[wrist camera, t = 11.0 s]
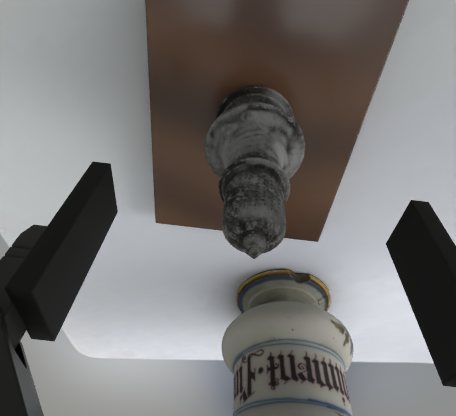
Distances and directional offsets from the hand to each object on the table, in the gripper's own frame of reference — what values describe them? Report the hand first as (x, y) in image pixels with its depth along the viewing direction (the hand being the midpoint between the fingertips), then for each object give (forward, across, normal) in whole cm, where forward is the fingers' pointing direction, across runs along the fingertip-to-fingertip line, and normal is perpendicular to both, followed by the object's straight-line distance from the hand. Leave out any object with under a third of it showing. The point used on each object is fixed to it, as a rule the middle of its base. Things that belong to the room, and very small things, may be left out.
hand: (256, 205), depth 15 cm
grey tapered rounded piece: (+9, 0, -1) cm, 9 cm away
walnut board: (+10, 0, 0) cm, 10 cm away
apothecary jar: (+10, +6, -20) cm, 24 cm away
